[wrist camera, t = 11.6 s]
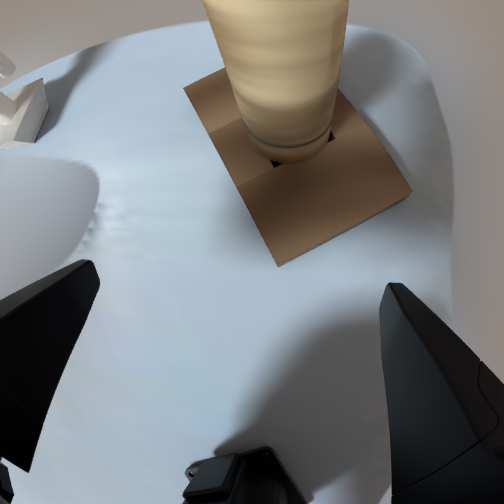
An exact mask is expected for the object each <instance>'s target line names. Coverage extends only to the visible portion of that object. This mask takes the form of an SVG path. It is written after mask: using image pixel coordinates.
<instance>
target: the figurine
mask: <svg viewBox="0 0 504 504" xmlns="http://www.w3.org/2000/svg"><path fill="white" fill-rule="evenodd" d="M15 69H16V65H15V64H14V63H13V62H12V61H11V60H10V59H9V58H7V57H6V56H5V55H4V54H3V53H2V52H0V76H1V77H3V78H7V77H9V76H11V75H12V74H13V73H14V71H15ZM48 109H49V106H48V102H47V97H46V93H45V88H44V83H43V78H41V79H39V80H37V81H34V82H32V83H30V84H28V85H26V86H24V87H22V88H20V89H18V90H16V91H14V92H12V93H10V94H8V96H6V95H5V94H3V93H2V92H0V149H10V148H18V147H22V146H26V145H30V144H34V143H35V140H36V138H37V135H38V133H39V130H40V128H41V125H42V123H43V121H44V118H45V116H46V114H47V111H48Z"/></svg>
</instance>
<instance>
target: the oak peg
mask: <svg viewBox="0 0 504 504" xmlns="http://www.w3.org/2000/svg"><path fill="white" fill-rule="evenodd" d="M202 2H203V5H204V8H205V11H206V13H207V16H208V19H209V22H210V25H211V27H212V30H213V33H214V36H215V39H216V42H217V44H218V47H219V50H220V53H221V56H222V59H223V62H224V65H225V68H226V71H227V74H228V77H229V80H230V83H231V86H232V89H233V92H234V95H235V98H236V101H237V104H238V107H239V110H240V115H241V118H242V121H243V124H244V126H245V129H246V132H247V135H248V138H249V141H250V143H251V145H252V146H253V148H254V149H255V150H256V151H257V152H258V153H259V154H260V155H262V156H263V157H265V158H267V159H269V160H271V161H274V162H278V163H285V164H294V163H300V162H304V161H307V160H309V159H311V158H313V157H315V156H316V155H317V154H319V153H320V152H321V151H322V150H323V148H324V147H325V145H326V144H327V141H328V139H329V134H330V129H331V123H332V119H333V114H334V106H335V100H336V94H337V87H338V81H339V74H340V68H341V61H342V54H343V46H344V39H345V31H346V22H347V13H348V3H349V0H202Z"/></svg>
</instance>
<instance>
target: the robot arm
mask: <svg viewBox="0 0 504 504" xmlns="http://www.w3.org/2000/svg"><path fill="white" fill-rule="evenodd" d="M99 287H100V279H99V276H98V274H97V271H96V268H95V265H94V263H93V262H92V261H91V260H85V259H81V260H79V261H77V262H74V263H72V264H70V265H68V266H66V267H64V268H62V269H60V270H58V271H56V272H54V273H52V274H50V275H48V276H46V277H44V278H42V279H40V280H38V281H36V282H34V283H32V284H30V285H28V286H26V287H24V288H22V289H21V290H19V291H17V292H15V293H13V294H11V295H9V296H7V297H5V298H4V299H2V300H0V504H11V501H12V499H13V496H14V493H13V489H12V485H11V481H10V477H9V472H8V468H7V467H6V466H5V465H4V464H3V463H2V462H1V460H2V458H5V459H6V460H8V461H9V462H11V463H12V464H14V465H16V466H17V467H19V468H20V469H22V470H24V471H25V472H27V473H29V471H30V468H31V464H32V461H33V457H34V453H35V450H36V447H37V443H38V440H39V437H40V434H41V431H42V427H43V424H44V421H45V418H46V415H47V412H48V409H49V407H50V404H51V401H52V399H53V396H54V393H55V391H56V388H57V386H58V383H59V381H60V378H61V376H62V373H63V371H64V369H65V366H66V364H67V362H68V359H69V357H70V355H71V353H72V350H73V348H74V346H75V344H76V342H77V340H78V337H79V335H80V333H81V331H82V329H83V327H84V325H85V322H86V320H87V317H88V315H89V312H90V309H91V307H92V304H93V302H94V299H95V297H96V295H97V292H98V290H99ZM379 316H380V332H381V354H382V366H383V373H384V381H385V389H386V398H387V407H388V418H389V430H390V446H391V472H392V495H393V496H392V497H391V504H504V384H503V383H502V382H501V381H500V380H499V379H498V378H497V377H496V375H495V374H494V373H493V372H492V371H491V370H490V369H489V368H488V367H487V366H486V365H485V364H484V363H483V362H482V361H480V359H479V358H478V356H477V355H476V354H475V353H474V352H473V351H472V350H471V349H470V348H469V347H468V346H467V345H466V344H465V343H464V342H463V341H462V340H461V339H460V338H459V337H458V336H457V335H456V334H455V333H454V332H453V331H452V330H451V329H450V328H449V327H448V326H447V325H446V324H445V323H444V322H443V321H442V320H441V319H440V318H439V317H438V316H437V315H436V314H435V313H434V312H433V311H432V310H430V309H429V308H428V307H427V306H426V305H425V304H424V303H423V302H422V301H421V300H420V299H419V298H418V297H417V296H415V295H414V294H413V293H412V292H411V291H410V290H409V289H408V288H407V287H406V286H404V285H403V284H402V283H391V282H390V283H388V284H387V285H386V288H385V291H384V294H383V298H382V301H381V304H380V309H379ZM264 452H267V453H269V455H267V456H266V455H263V454H262V453H264ZM190 472H193V473H194V474H195V475H194V474H191V473H190ZM185 475H186V477H187V478H188V480H189V481H190V483H189V484H188V486H187V487H186V489H185V490H184V492H183V495H182V496H183V497H184V499H185V500H184V502H183V503H182V504H307V502H306V500H305V499H304V497H303V496H302V494H301V493H300V491H299V490H298V488H297V487H296V485H295V483H294V482H293V480H292V479H291V477H290V476H289V474H288V473H287V471H286V469H285V468H284V466H283V465H282V463H281V461H280V460H279V458H278V457H277V455H276V453H275V452H274V450H273V449H272V448H271V447H267V446H265V447H261V448H258V449H255V450H251V451H248V452H245V453H242V454H237V453H233V454H229V455H226V456H222V457H218V458H215V459H211V460H207V461H203V462H202V464H200V465H195V466H191V467H188V468H187V469H186V471H185Z"/></svg>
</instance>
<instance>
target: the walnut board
mask: <svg viewBox="0 0 504 504" xmlns="http://www.w3.org/2000/svg"><path fill="white" fill-rule="evenodd" d="M183 89H184V91H185V92H186V94H187V96H188V98H189V100H190V102H191V103H192V105H193V107H194V109H195V111H196V113H197V114H198V116H199V118H200V120H201V122H202V124H203V126H204V127H205V129H206V131H207V133H208V135H209V137H210V138H211V140H212V142H213V144H214V146H215V148H216V150H217V152H218V153H219V155H220V157H221V159H222V161H223V163H224V165H225V167H226V168H227V170H228V172H229V174H230V176H231V178H232V180H233V182H234V184H235V185H236V187H237V189H238V191H239V193H240V195H241V197H242V199H243V201H244V203H245V204H246V206H247V208H248V210H249V212H250V214H251V216H252V218H253V220H254V222H255V224H256V226H257V227H258V229H259V231H260V233H261V235H262V237H263V239H264V241H265V243H266V245H267V247H268V249H269V251H270V253H271V255H272V257H273V258H274V260H275V262H276V264H277V266H278V267H279V266H281V265H283V264H285V263H287V262H289V261H291V260H293V259H295V258H297V257H299V256H301V255H303V254H304V253H306V252H308V251H310V250H312V249H314V248H316V247H318V246H320V245H322V244H323V243H325V242H327V241H329V240H331V239H333V238H335V237H337V236H338V235H340V234H342V233H344V232H346V231H348V230H350V229H352V228H353V227H355V226H357V225H359V224H361V223H363V222H364V221H366V220H368V219H370V218H372V217H374V216H375V215H377V214H379V213H381V212H383V211H385V210H386V209H388V208H390V207H392V206H394V205H395V204H397V203H399V202H401V201H403V200H404V199H405V198H406V197H408V196H409V195H410V194H411V193H412V192H413V191H412V190H411V188H410V186H409V185H408V183H407V182H406V180H405V178H404V177H403V175H402V174H401V172H400V170H399V169H398V167H397V166H396V164H395V163H394V161H393V160H392V158H391V157H390V155H389V154H388V152H387V151H386V150H385V148H384V147H383V145H382V144H381V142H380V141H379V140H378V138H377V137H376V135H375V134H374V133H373V131H372V130H371V129H370V127H369V126H368V125H367V123H366V122H365V121H364V119H363V118H362V117H361V116H360V114H359V113H358V112H357V111H356V109H355V108H354V107H353V106H352V104H351V103H350V102H349V101H348V100H347V98H346V97H345V96H344V95H343V94H342V92H341V91H340V90H339V89H338V88H337V94H336V100H335V106H334V114H333V119H332V123H331V129H330V134H329V139H328V143H327V144H326V145H325V147H324V148H323V150H322V151H321V152H320V153H319V154H317V155H316V156H315V157H313V158H311V159H309V160H307V161H304V162H300V163H294V164H285V163H283V164H281V165H279V166H277V167H275V168H274V167H273V165H272V164H271V162H270V160H269V159H267V158H265V157H263V156H262V155H260V154H259V153H258V152H257V151H256V150H255V149H254V148H253V146H252V145H251V143H250V141H249V138H248V135H247V132H246V129H245V126H244V124H243V121H242V118H241V115H240V110H239V107H238V104H237V101H236V98H235V95H234V92H233V89H232V86H231V83H230V80H229V77H228V74H227V71H226V68H223V69H221V70H219V71H217V72H214V73H212V74H210V75H208V76H206V77H204V78H202V79H200V80H198V81H196V82H194V83H192V84H190V85H188V86H186V87H184V88H183Z"/></svg>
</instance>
